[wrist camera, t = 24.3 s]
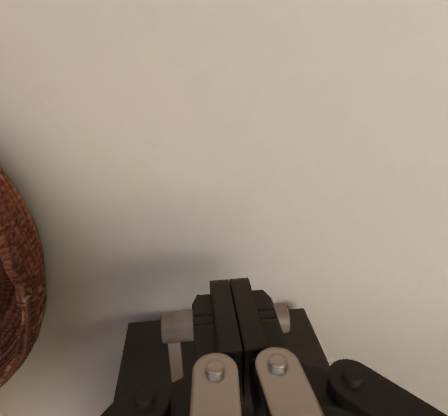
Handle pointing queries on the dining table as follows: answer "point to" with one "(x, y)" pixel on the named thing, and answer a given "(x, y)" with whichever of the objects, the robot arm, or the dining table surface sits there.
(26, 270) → the basket
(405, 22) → the dining table surface
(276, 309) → the drawer
